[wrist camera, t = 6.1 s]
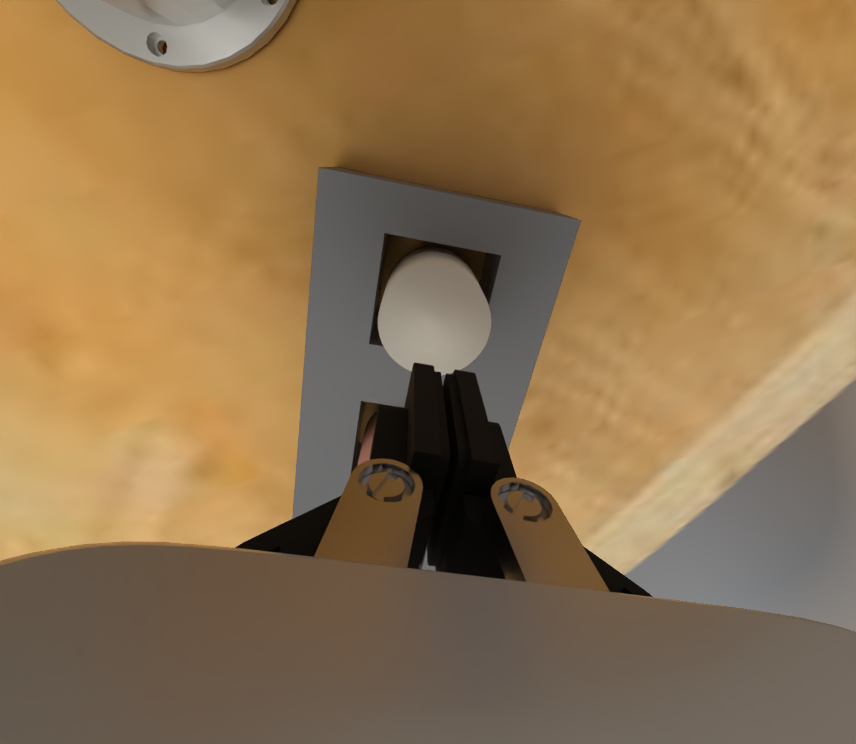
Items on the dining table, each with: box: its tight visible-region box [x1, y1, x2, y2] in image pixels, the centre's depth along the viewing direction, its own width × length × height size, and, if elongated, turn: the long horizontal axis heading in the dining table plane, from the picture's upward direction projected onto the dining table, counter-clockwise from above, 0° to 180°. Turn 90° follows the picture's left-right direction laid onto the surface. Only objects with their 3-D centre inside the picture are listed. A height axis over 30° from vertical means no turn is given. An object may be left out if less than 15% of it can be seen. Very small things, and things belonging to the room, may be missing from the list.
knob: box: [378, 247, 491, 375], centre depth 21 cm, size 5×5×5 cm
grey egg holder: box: [292, 167, 581, 571], centre depth 27 cm, size 28×12×4 cm, turn 169°
